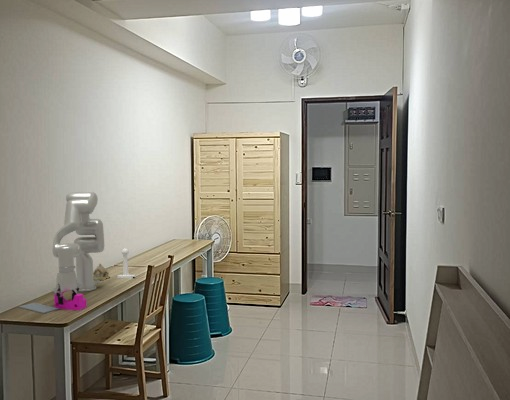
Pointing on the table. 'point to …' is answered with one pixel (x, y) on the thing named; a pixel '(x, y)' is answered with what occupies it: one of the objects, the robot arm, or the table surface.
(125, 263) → the joystick
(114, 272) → the table surface
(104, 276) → the ceramic model
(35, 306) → the mat
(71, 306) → the toy block
